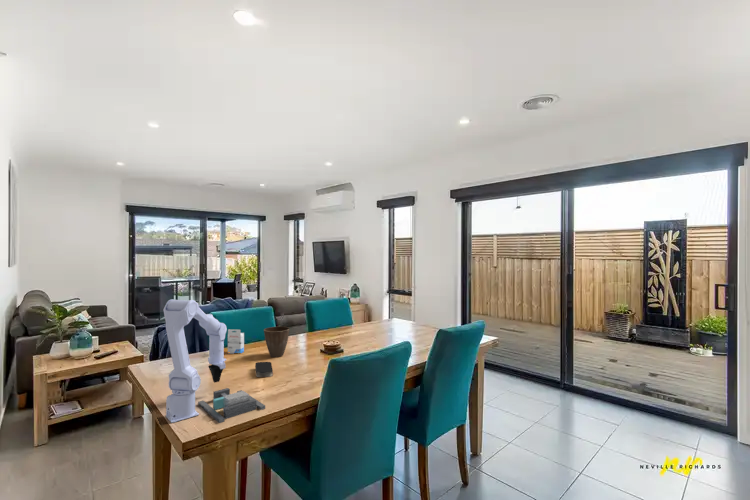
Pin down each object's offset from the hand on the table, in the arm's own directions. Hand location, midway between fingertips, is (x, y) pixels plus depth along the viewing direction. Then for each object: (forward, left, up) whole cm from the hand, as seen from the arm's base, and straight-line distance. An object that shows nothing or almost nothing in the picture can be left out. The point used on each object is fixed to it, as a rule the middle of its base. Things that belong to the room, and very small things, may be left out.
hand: (216, 381), depth 156 cm
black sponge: (+29, +13, -6) cm, 33 cm away
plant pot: (+49, +36, -6) cm, 61 cm away
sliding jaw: (0, -10, -6) cm, 12 cm away
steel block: (0, -21, -6) cm, 21 cm away
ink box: (+34, +59, -6) cm, 69 cm away
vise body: (0, -16, -6) cm, 17 cm away
